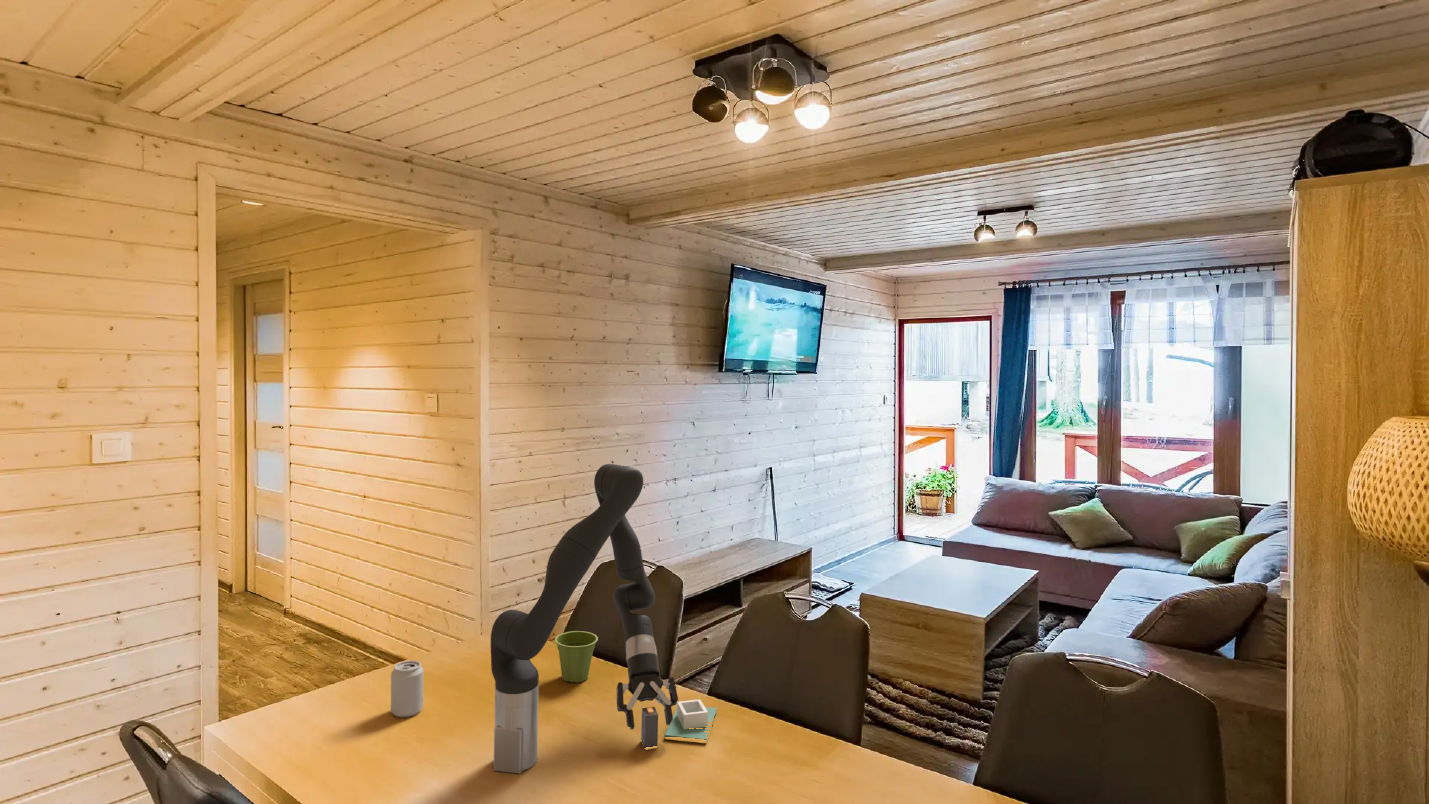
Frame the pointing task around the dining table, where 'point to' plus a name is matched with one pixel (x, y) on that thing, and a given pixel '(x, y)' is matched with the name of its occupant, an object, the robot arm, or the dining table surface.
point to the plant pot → (575, 654)
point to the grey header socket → (692, 714)
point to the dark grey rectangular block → (649, 727)
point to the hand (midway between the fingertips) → (650, 726)
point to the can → (406, 689)
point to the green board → (678, 731)
